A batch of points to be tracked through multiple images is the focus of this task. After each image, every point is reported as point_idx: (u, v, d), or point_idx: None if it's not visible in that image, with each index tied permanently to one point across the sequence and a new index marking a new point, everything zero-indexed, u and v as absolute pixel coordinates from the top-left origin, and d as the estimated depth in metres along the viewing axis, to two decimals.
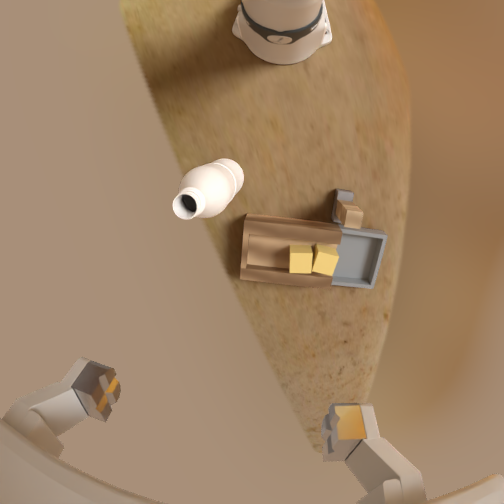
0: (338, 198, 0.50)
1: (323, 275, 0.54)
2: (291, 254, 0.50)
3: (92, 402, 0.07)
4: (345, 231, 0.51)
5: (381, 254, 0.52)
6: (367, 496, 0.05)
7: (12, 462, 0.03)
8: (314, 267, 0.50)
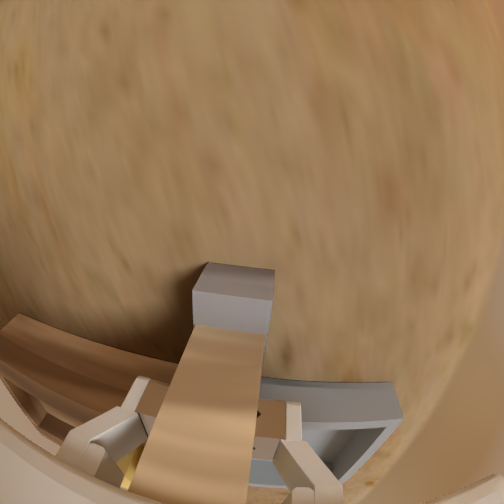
0: (198, 321, 0.11)
1: None
2: None
3: None
4: None
5: (372, 451, 0.14)
6: (284, 501, 0.05)
7: (12, 462, 0.03)
8: None
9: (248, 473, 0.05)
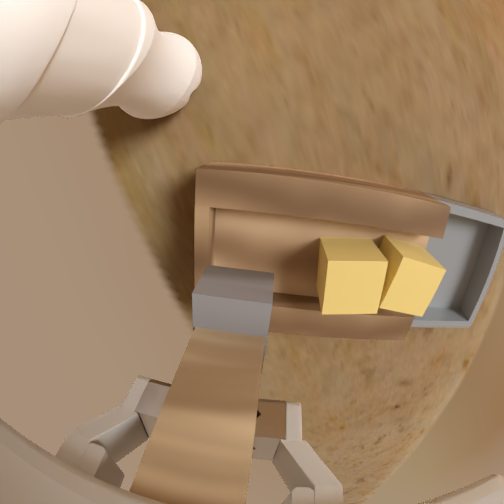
0: (198, 323, 0.11)
1: (394, 311, 0.21)
2: (331, 265, 0.17)
3: None
4: None
5: (496, 260, 0.19)
6: (284, 501, 0.05)
7: (12, 462, 0.03)
8: (386, 299, 0.17)
9: (248, 475, 0.05)
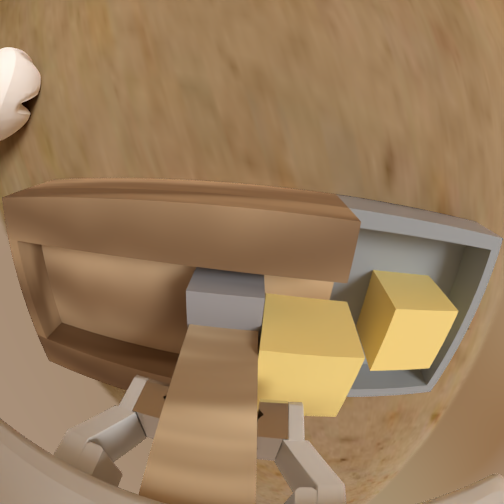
0: (192, 320, 0.11)
1: None
2: (264, 356, 0.10)
3: (157, 424, 0.07)
4: (369, 220, 0.11)
5: (477, 301, 0.12)
6: (287, 501, 0.05)
7: (12, 462, 0.03)
8: (433, 355, 0.13)
9: (255, 465, 0.06)
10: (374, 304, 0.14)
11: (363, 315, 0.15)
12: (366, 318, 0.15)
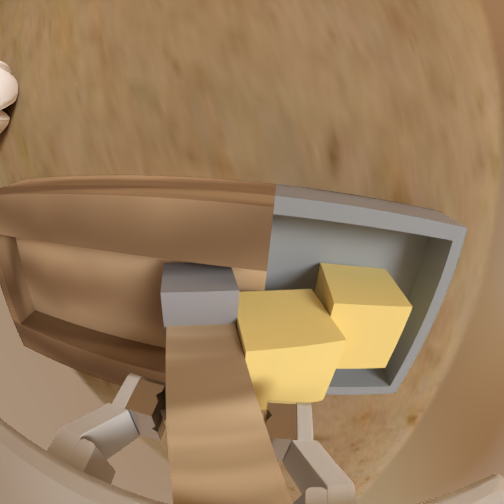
0: (168, 322, 0.11)
1: None
2: (251, 356, 0.10)
3: (150, 422, 0.07)
4: (299, 208, 0.12)
5: (440, 298, 0.13)
6: (296, 501, 0.05)
7: (12, 462, 0.03)
8: (389, 354, 0.13)
9: (273, 451, 0.06)
10: (320, 299, 0.14)
11: None
12: None
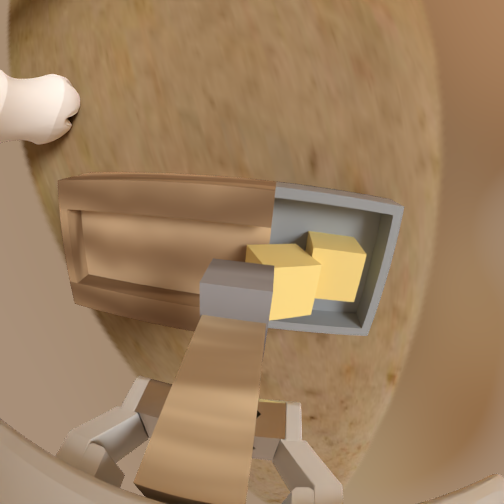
0: (204, 311, 0.12)
1: None
2: None
3: None
4: (290, 193, 0.20)
5: (389, 256, 0.20)
6: (284, 501, 0.05)
7: (12, 462, 0.03)
8: (355, 292, 0.21)
9: (252, 444, 0.06)
10: (307, 252, 0.22)
11: None
12: None
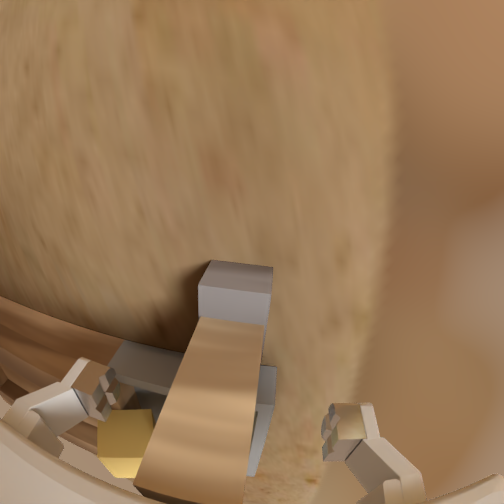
0: (203, 313, 0.12)
1: None
2: (102, 459, 0.12)
3: (92, 402, 0.07)
4: (121, 378, 0.14)
5: (260, 438, 0.15)
6: (367, 496, 0.05)
7: (12, 462, 0.03)
8: None
9: (249, 446, 0.06)
10: None
11: None
12: None
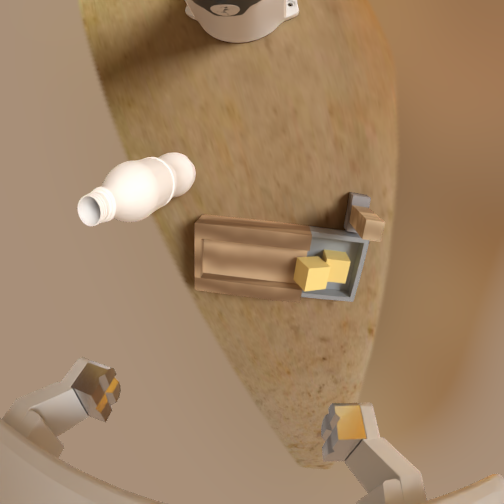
0: (353, 204, 0.42)
1: (291, 286, 0.46)
2: (309, 270, 0.42)
3: (92, 402, 0.07)
4: (317, 234, 0.44)
5: (362, 261, 0.45)
6: (367, 496, 0.05)
7: (12, 462, 0.03)
8: (346, 278, 0.45)
9: None
10: (323, 260, 0.46)
11: None
12: None
